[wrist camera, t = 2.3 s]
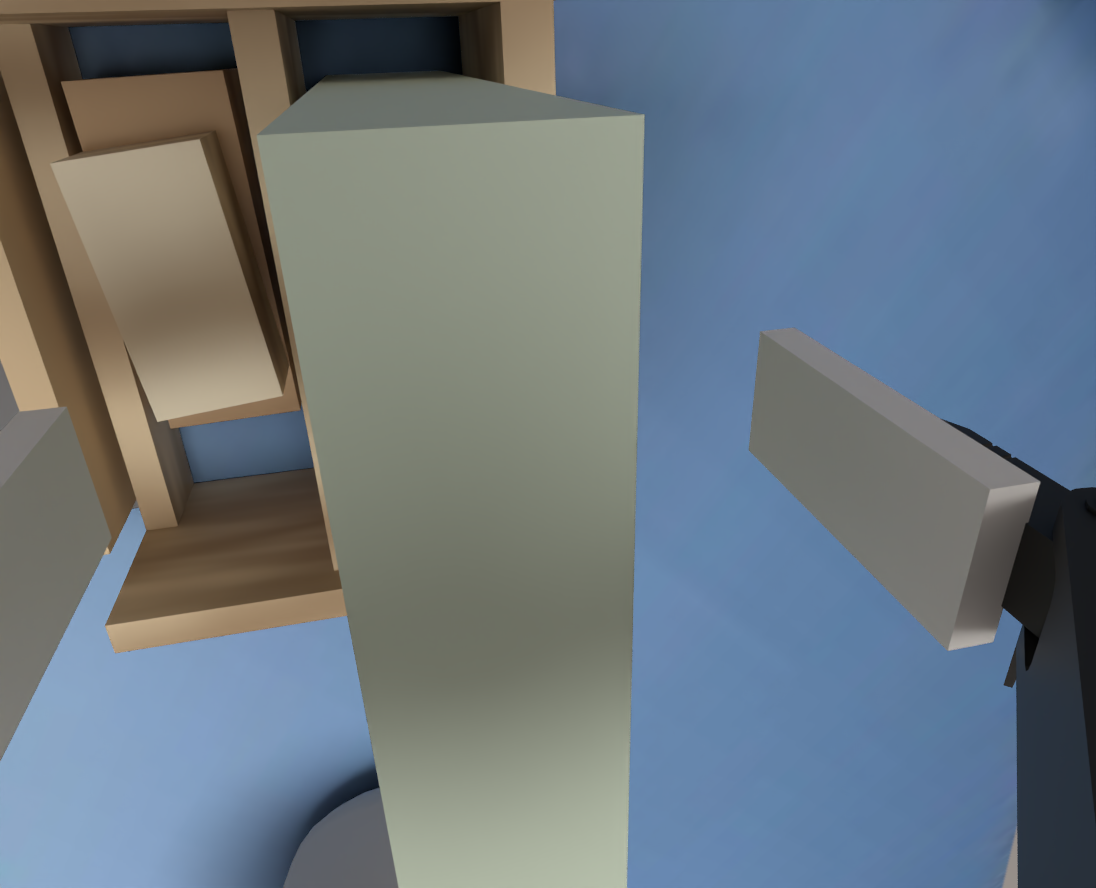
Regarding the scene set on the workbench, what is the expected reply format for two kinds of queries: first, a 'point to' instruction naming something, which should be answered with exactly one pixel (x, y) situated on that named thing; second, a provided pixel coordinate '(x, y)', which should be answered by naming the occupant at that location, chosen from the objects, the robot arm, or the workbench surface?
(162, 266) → the offcut top
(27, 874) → the workbench surface
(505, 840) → the pale green block
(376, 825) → the jar
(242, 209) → the offcut low
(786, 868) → the workbench surface
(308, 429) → the rack
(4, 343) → the holder
